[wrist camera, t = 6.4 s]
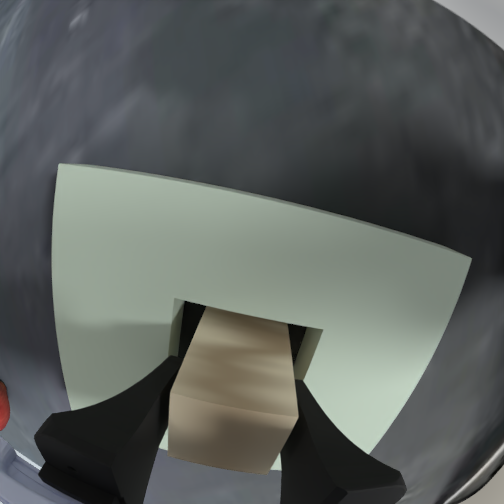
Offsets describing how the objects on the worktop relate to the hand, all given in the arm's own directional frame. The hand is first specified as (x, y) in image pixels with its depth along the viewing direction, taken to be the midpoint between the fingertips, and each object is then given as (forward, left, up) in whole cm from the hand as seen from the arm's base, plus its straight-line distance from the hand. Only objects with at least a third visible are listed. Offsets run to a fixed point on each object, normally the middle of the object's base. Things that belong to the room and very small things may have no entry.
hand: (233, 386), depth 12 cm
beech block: (0, 0, -3) cm, 4 cm away
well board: (0, 0, -3) cm, 3 cm away
